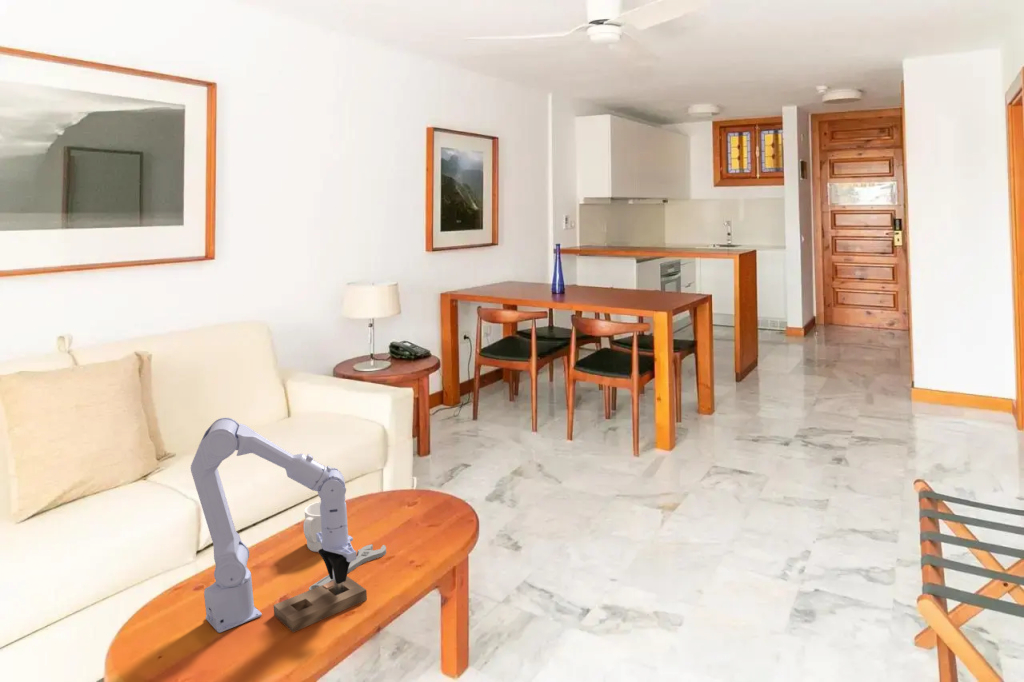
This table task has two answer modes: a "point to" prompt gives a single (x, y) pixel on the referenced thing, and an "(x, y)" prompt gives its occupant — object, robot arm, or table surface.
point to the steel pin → (337, 586)
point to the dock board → (318, 604)
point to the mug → (312, 526)
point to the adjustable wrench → (356, 561)
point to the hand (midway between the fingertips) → (338, 579)
